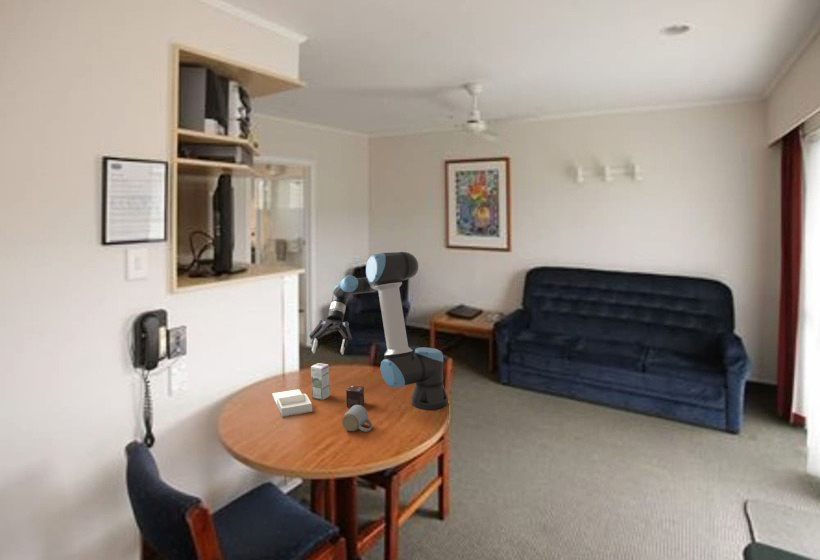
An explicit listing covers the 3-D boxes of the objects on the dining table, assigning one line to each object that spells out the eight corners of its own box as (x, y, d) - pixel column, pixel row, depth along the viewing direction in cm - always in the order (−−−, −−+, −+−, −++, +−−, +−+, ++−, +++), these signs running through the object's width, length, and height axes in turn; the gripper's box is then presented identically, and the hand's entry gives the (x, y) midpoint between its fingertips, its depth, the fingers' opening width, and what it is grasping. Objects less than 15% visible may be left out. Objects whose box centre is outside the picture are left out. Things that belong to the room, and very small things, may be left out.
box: (360, 408, 198) (359, 391, 197) (346, 407, 199) (345, 390, 198) (364, 402, 204) (364, 386, 203) (350, 401, 205) (350, 385, 204)
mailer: (312, 411, 195) (311, 403, 195) (281, 416, 190) (281, 408, 190) (299, 389, 220) (298, 382, 219) (272, 394, 215) (271, 386, 214)
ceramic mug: (340, 431, 177) (340, 411, 176) (350, 422, 185) (350, 403, 184) (367, 435, 174) (366, 415, 173) (375, 426, 182) (375, 406, 180)
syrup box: (330, 395, 212) (329, 363, 210) (322, 400, 207) (321, 367, 205) (319, 393, 214) (318, 362, 212) (311, 398, 209) (310, 366, 207)
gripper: (363, 318, 232) (355, 357, 220) (313, 316, 236) (303, 355, 224) (360, 309, 227) (352, 349, 214) (309, 308, 230) (298, 347, 218)
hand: (327, 352), depth 219 cm, fingers open, 13 cm apart
